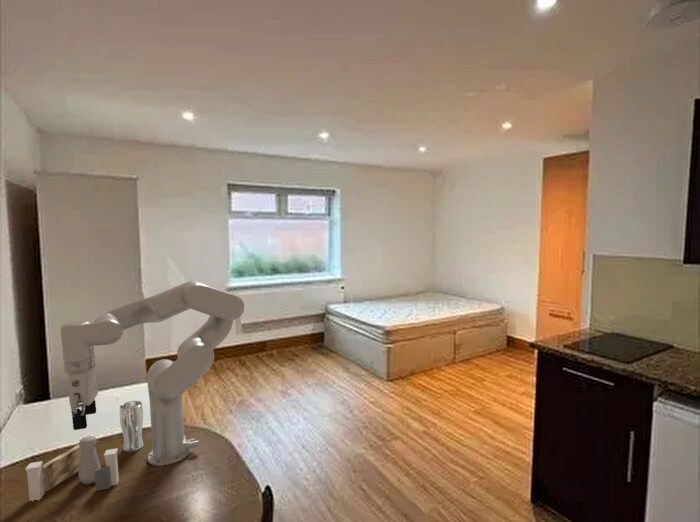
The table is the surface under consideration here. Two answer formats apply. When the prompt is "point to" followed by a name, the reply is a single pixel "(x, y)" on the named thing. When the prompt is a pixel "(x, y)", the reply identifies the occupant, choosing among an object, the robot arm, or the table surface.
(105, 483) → the gate posts
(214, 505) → the table surface
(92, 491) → the table surface
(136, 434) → the beer glass
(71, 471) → the gate
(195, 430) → the table surface
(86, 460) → the salt shaker
